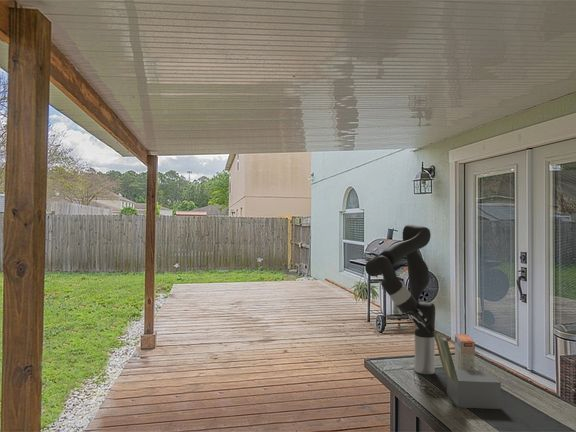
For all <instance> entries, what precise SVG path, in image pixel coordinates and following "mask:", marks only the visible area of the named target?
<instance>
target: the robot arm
mask: <svg viewBox="0 0 576 432" xmlns="http://www.w3.org/2000/svg"><path fill="white" fill-rule="evenodd" d="M402 229H403V231H402V241H399V242H396V243H393V244H391V245H390V246H388V247H387V248H385V249H384V250H383V251H382V252H380V253H379V254H377V255H376V256H373V257H372V258H370V259H368V260H367V261H366V263H365V265H364V266H365V268H364V269H365V272H366V274H367V275H368V276H370V277H378V276H381V275H383V277H384V278H383V279H382V280H381V286H382V288H383V289H384V290H385V292H386V293H387V295H388V297H390V299H391V300H392V302H393V304H394V305H395V306H396V308H397V309H399V311H400V312H401V314H404V315H405V316H406V317H407V318H408V320H409V321H410V322H412V323H414V325H415V326H416V328H415V329H414V372H416V373H418V374H420V375H434V374H435V370H436V367H435V366H436V365H435V362H436V361H435V357H436V356H435V352H436V351H435V348H436V345H435V344H436V340H435V336H434V333H433V332H436V331H435V327H436V326H435V323H436V306H435V304H434V303H433V302H427V301H419V299H420V297H421V295H422V294H423V292H424V291H425V290H426V288H427V287H428V285H429V283H430V273H429V267H428V265H427V263H426V261H425V260H424V258H423V257H422V256H421V254H420V253H419V251H418V250H420V249H422V248H424V247H426V246H427V245H428V244H429V243H430V240H431V237H432V235H431V231H430V228H428V227H426V226H423V225H417V224H410V223H409V224H406V225H405V226H404V227H403V228H402ZM405 257H406V264H407V275H408V283H409V289H410V291H409V290H408V288H407V286H405V285H404V284H403V282H402V281H401V280H400V279H399V278H398V276H397V274H396V271H395V269H394V265H395V264H397V263H398V262H399V261H401V260H402V259H403V258H405Z"/></svg>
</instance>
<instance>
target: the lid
mask: <svg viewBox="0 0 576 432" xmlns="http://www.w3.org/2000/svg"><path fill="white" fill-rule="evenodd" d="M433 333H434V336H435V344H436V346H437V347H436V348H437V350H438V355H439V358H440V362H441V364H442V366H441V367H442V369H443V371H444V372H445V373H446V375H447V374H448V376H449V377H450V378H452V379H453V380H454V381H455V382H458V378H457V375H456V371H455V362H454V360H453V356H452V354H451V349H450V346H449V341H448V339H446V338H445V337H444V336H443V335H441V334H440V333H439V332H438V331H435V332H433Z"/></svg>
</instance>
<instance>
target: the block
mask: <svg viewBox="0 0 576 432" xmlns="http://www.w3.org/2000/svg"><path fill="white" fill-rule="evenodd" d="M455 371H456V375H457V378H458V382H455V381H454V380H453V379H452V378H450V377H449V376H448V374H447V373H446V394H447V396H448V397H449V398H450V399H451V400H453V401H452V402H453V403H454V404H455V405H456V407H457V408H463V409H464V408H466V409H467V408H468V409H469V408H470V409H489V410H490V409H491V410H502V384H501V383H502V382H501V381H500V380H499V379H497V378H496V377H495V376H493V375H492V374H491V373H490V372H488V371H487V370H478V369H474V370H455Z"/></svg>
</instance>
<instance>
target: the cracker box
mask: <svg viewBox="0 0 576 432" xmlns="http://www.w3.org/2000/svg"><path fill="white" fill-rule="evenodd" d="M475 343H476V342H475V341H474V340H473V339H472V338H471V337H470V336H469V335H468V334H462V333H461V334H459V333H456V334H454V367H455V370H475V368H476V367H475V365H476V364H475V362H476V361H475V353H476V352H475V348H476V347H475V346H476V344H475Z"/></svg>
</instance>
